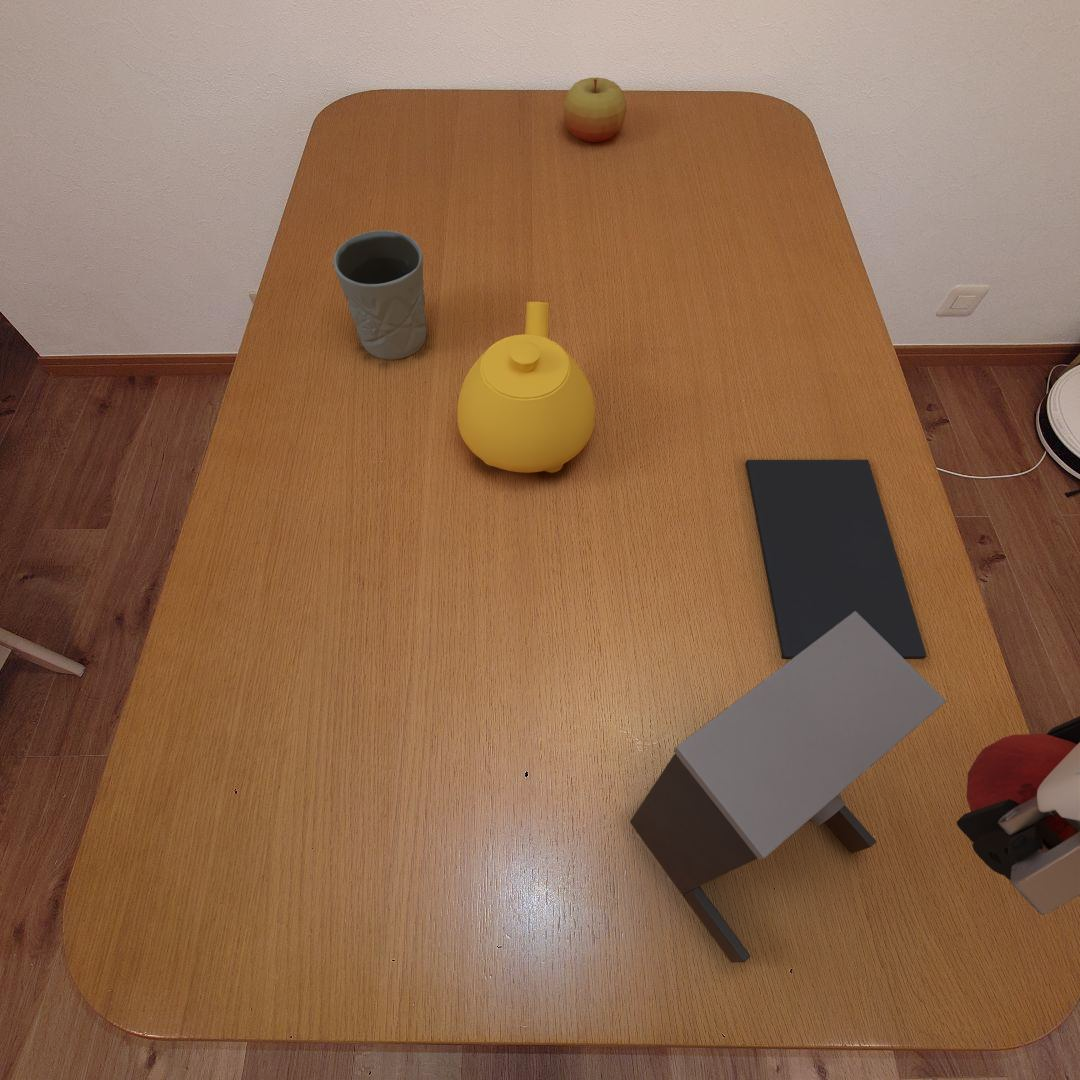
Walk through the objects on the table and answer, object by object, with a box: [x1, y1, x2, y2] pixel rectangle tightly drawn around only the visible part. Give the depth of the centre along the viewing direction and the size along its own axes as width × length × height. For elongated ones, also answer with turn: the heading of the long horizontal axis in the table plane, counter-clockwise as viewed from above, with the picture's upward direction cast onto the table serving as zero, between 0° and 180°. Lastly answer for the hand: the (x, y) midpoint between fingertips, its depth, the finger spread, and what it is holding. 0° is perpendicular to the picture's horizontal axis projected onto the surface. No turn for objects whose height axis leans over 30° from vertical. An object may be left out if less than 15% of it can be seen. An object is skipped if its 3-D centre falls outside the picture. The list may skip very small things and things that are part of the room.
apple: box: [563, 77, 627, 143], centre depth 113 cm, size 10×10×8 cm
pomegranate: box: [966, 733, 1078, 841], centre depth 32 cm, size 6×6×8 cm
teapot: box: [456, 301, 596, 474], centre depth 79 cm, size 20×16×14 cm
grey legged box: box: [629, 611, 947, 964], centre depth 51 cm, size 13×15×25 cm
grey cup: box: [332, 229, 428, 361], centre depth 88 cm, size 10×10×12 cm
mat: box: [745, 459, 927, 660], centre depth 76 cm, size 24×14×1 cm, turn 0°
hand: (1033, 802), depth 33 cm, fingers closed on pomegranate, 5 cm apart
